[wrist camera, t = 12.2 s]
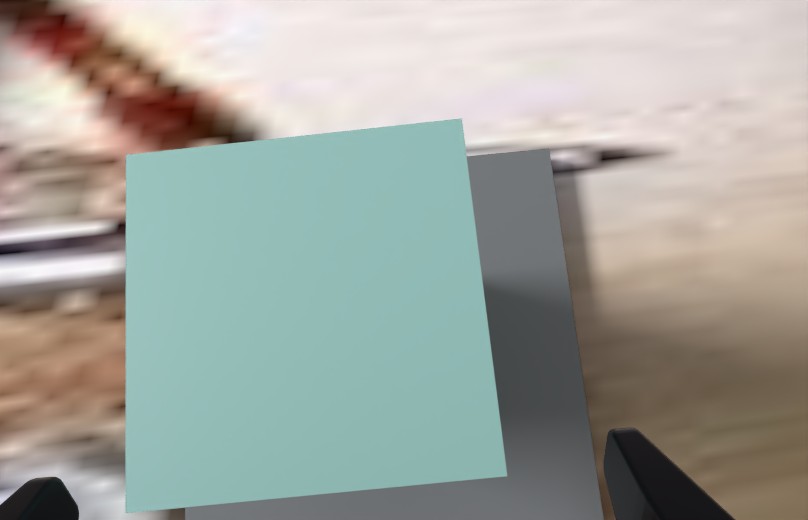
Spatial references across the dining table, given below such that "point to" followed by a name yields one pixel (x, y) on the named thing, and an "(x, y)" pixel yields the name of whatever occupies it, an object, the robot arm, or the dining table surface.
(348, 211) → the teal block
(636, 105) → the dining table surface
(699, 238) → the dining table surface
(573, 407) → the rubber mat
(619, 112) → the dining table surface
